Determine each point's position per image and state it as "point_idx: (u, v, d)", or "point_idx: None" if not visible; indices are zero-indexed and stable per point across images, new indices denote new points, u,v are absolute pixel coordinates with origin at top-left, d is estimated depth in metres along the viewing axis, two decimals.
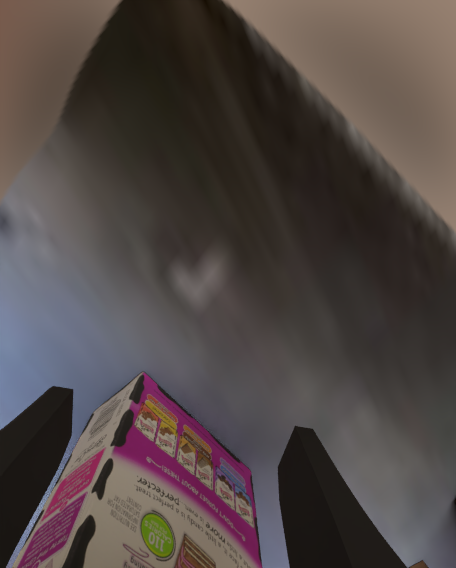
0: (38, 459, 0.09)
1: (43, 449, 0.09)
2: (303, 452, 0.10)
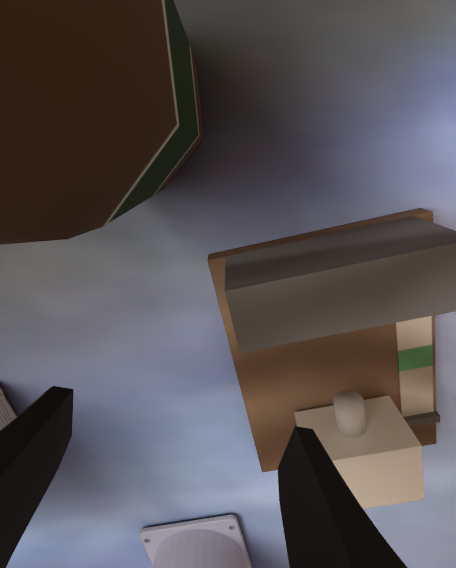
0: (38, 459, 0.09)
1: (43, 449, 0.09)
2: (303, 452, 0.10)
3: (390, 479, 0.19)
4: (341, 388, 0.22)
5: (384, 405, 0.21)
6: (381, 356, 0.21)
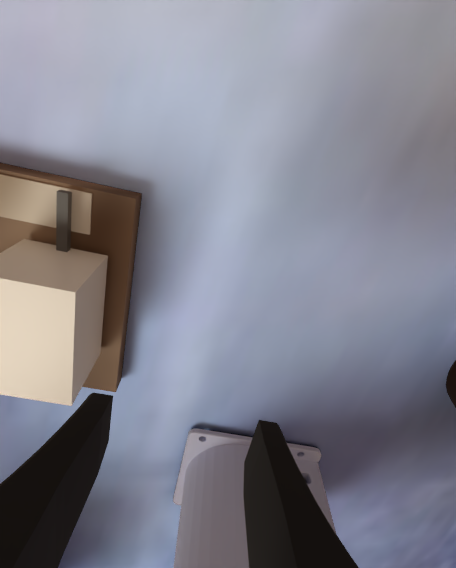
0: (85, 465, 0.09)
1: (89, 456, 0.09)
2: (263, 446, 0.10)
3: (25, 320, 0.14)
4: None
5: None
6: None
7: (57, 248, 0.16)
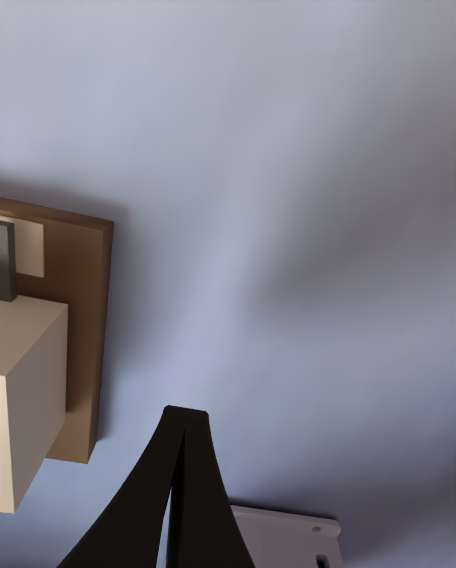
0: (172, 478, 0.09)
1: (174, 469, 0.10)
2: (184, 433, 0.10)
3: None
4: None
5: None
6: None
7: None
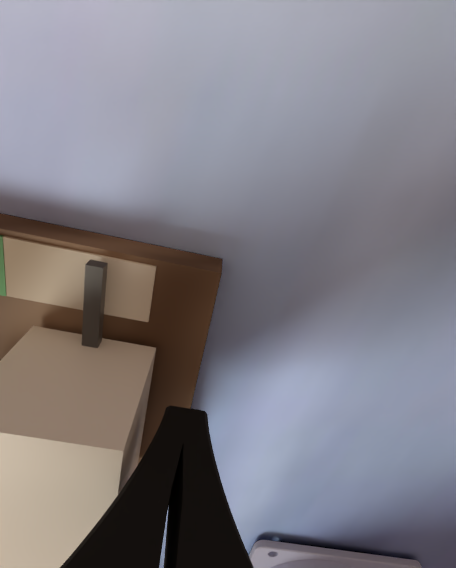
0: (174, 479, 0.09)
1: (176, 469, 0.10)
2: None
3: (37, 487, 0.09)
4: None
5: None
6: None
7: (83, 343, 0.11)
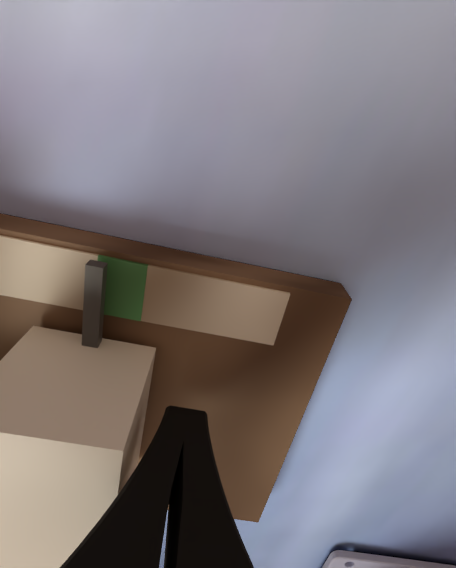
0: (174, 479, 0.09)
1: (176, 469, 0.10)
2: None
3: (37, 487, 0.09)
4: None
5: None
6: None
7: (83, 343, 0.11)
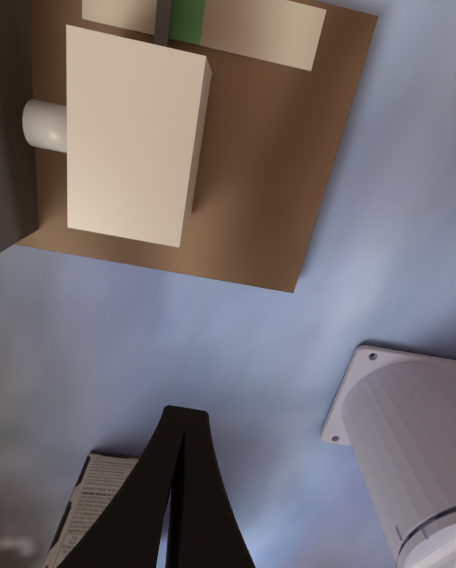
0: (172, 478, 0.09)
1: (174, 469, 0.10)
2: (184, 433, 0.10)
3: (134, 107, 0.11)
4: None
5: None
6: None
7: None
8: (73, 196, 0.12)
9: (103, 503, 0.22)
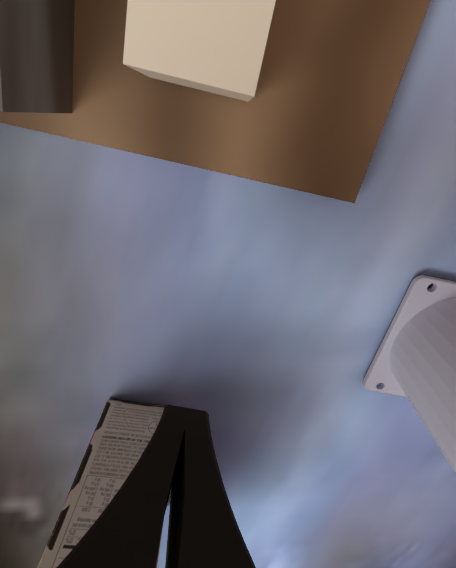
0: (172, 478, 0.09)
1: (175, 469, 0.10)
2: (184, 433, 0.10)
3: None
4: None
5: None
6: None
7: None
8: (133, 18, 0.10)
9: (126, 447, 0.20)
